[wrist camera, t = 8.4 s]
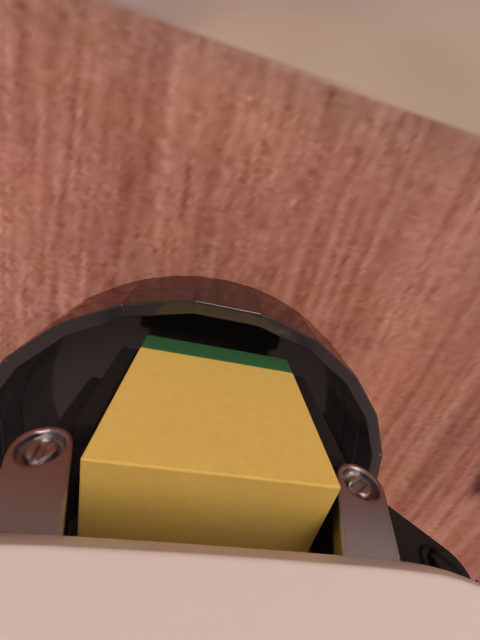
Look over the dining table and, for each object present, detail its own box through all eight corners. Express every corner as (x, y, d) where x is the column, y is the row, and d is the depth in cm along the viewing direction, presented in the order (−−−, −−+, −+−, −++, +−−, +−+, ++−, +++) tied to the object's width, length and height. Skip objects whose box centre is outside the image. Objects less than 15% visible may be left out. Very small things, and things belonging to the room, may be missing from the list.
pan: (8, 233, 12) (-74, 247, 8) (402, 317, 14) (456, 352, 11) (26, 521, 18) (-16, 590, 15) (294, 541, 21) (307, 603, 18)
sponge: (146, 333, 11) (78, 459, 5) (287, 358, 11) (342, 488, 6) (136, 417, 12) (74, 579, 7) (261, 434, 13) (289, 590, 8)
